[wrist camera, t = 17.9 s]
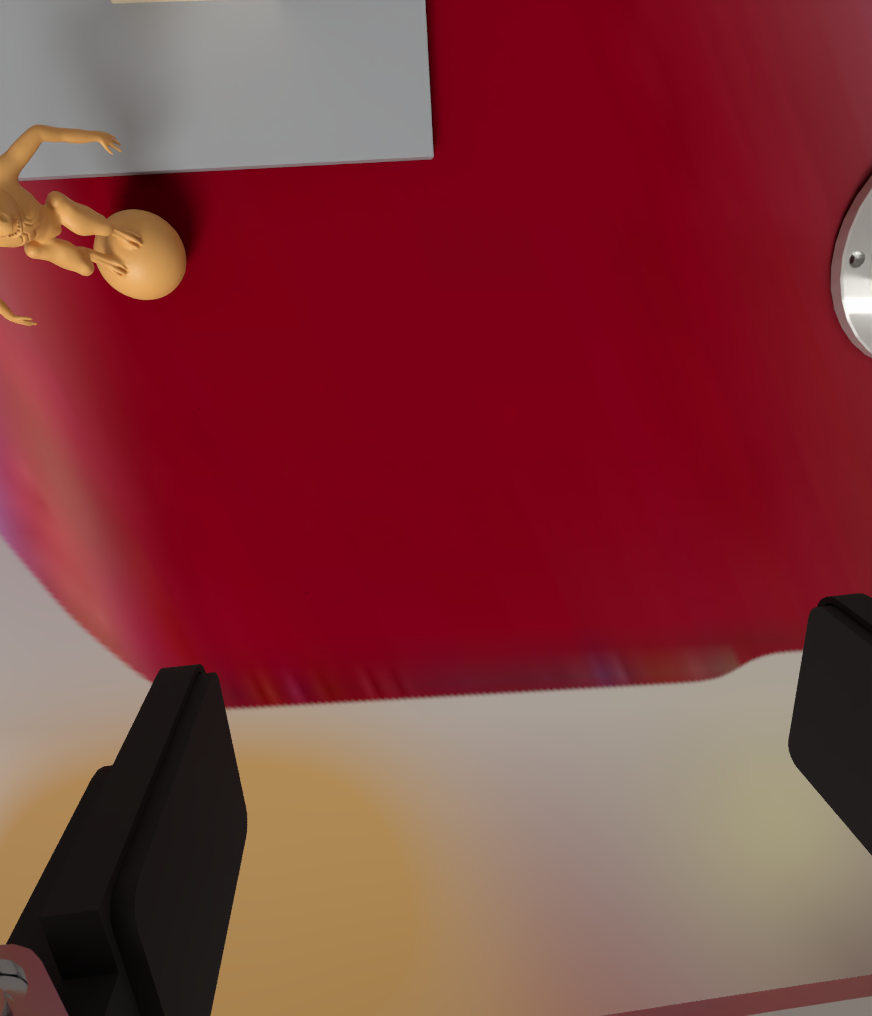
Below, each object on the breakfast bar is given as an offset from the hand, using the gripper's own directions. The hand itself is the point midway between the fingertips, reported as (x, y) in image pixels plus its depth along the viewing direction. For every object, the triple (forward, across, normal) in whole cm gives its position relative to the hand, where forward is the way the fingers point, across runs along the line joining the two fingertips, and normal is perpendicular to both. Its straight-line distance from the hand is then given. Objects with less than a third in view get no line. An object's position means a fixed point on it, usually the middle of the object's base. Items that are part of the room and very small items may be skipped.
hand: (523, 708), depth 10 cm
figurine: (+28, +13, -8) cm, 32 cm away
